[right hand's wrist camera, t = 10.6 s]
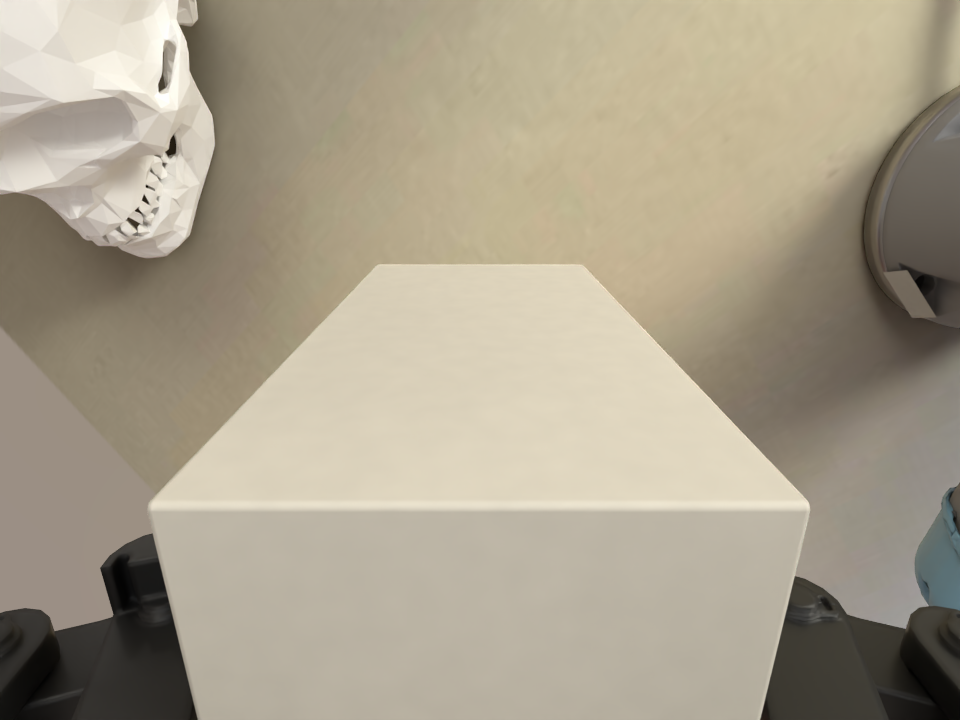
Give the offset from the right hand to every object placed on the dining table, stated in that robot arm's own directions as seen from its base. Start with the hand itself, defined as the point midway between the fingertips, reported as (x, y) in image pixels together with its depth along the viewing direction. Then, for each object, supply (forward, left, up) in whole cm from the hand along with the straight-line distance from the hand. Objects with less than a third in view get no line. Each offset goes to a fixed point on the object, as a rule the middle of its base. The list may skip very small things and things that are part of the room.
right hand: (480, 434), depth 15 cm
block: (0, 0, -3) cm, 3 cm away
